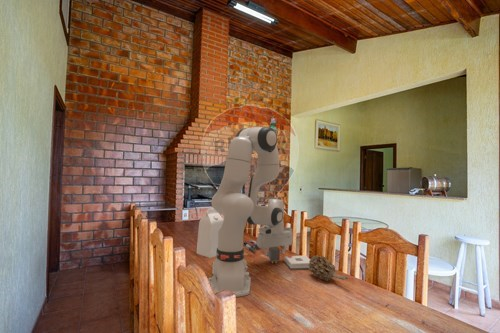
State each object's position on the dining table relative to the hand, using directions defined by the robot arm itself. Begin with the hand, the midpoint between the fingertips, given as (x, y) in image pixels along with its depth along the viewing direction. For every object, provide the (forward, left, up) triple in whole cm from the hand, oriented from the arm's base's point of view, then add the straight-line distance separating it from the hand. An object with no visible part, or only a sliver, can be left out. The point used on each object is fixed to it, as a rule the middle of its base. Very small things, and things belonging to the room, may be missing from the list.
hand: (275, 254), depth 144 cm
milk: (+18, +34, -4) cm, 38 cm away
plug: (0, +1, -4) cm, 4 cm away
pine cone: (-26, -18, -4) cm, 32 cm away
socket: (-5, -11, -4) cm, 13 cm away
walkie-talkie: (+26, +8, -5) cm, 28 cm away
